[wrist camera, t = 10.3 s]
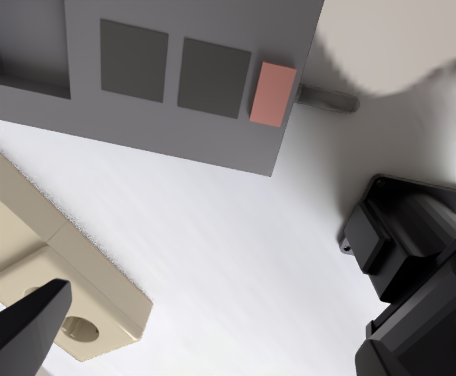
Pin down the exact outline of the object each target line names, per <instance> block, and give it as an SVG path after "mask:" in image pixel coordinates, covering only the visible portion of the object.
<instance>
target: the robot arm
mask: <svg viewBox="0 0 456 376" xmlns="http://www.w3.org/2000/svg"><path fill="white" fill-rule="evenodd" d="M380 180H383V181H382V183H380V184H377V182H378V181H380ZM345 246H348V247H347V248H344V247H345ZM339 248H340V250H341V252H342V253H344V254H349V255H354V256H355V258H356V260H357V262H358V265H359V267H360V269H361V271H362V272H363V274H367V275H369V278H370V280H371V282H372V284H373V286H374V288H375V290H376V292H377V295H378V297H379V299H380V301H382V302H386V303H391V304H390V305H389V306H388V307H387V308H386V309H385V310H384V311H383V312H382V313H381V314H380V315H379V316H378V317H377V318H376V319H375V320H372V321H371V322H370V323H369V324H368V325H367V326H366V340H365V341H364V342H363V344H362V345H361V347H360V348H359V350H358V351H357V353H356V355H355V366H356V373H357V376H456V190H455V189H450V188H446V187H441V186H436V185H431V184H427V183H422V182H417V181H413V180H408V179H403V178H399V177H394V176H389V175H385V174H377V175H375V176H373V177H372V179H371V180H370V182H369V184H368V187H367V189H366V191H365V193H364V195H363V197H362V199H361V201H359V202H358V203H357V204H356V206H355V208H354V210H353V212H352V214H351V216H350V218H349V220H348V222H347V224H346V226H345V229H344V235H343V237H342V239H341V241H340V243H339ZM71 304H72V289H71V282H70V281H69V280H66V279H61V278H55V279H52V280H51V281H49V282H47V283H46V284H44V285H43V286H41V287H39V288H38V289H36V290H35V291H33V292H31V293H30V294H28V295H27V296H25V297H23V298H22V299H20V300H18V301H17V302H15V303H14V304H12V305H10V306H9V307H7V308H6V309H4V310H2V311H1V312H0V376H35V375H36V373H37V371H38V369H39V368H40V366H41V365H42V363H43V361H44V360H45V358H46V356H47V354H48V352H49V350H50V348H51V346H52V344H53V342H54V339H55V337H56V335H57V333H58V331H59V329H60V327H61V325H62V323H63V321H64V319H65V317H66V315H67V313H68V311H69V309H70V306H71Z"/></svg>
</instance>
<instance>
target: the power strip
mask: <svg viewBox="0 0 456 376" xmlns="http://www.w3.org/2000/svg"><path fill="white" fill-rule="evenodd" d="M323 3H324V0H0V120H3V121H8V122H13V123H18V124H22V125H27V126H32V127H37V128H41V129H46V130H51V131H56V132H60V133H65V134H70V135H74V136H79V137H84V138H89V139H93V140H98V141H103V142H108V143H112V144H117V145H122V146H127V147H131V148H136V149H141V150H146V151H150V152H155V153H160V154H165V155H169V156H174V157H179V158H184V159H188V160H193V161H198V162H203V163H207V164H212V165H217V166H222V167H226V168H231V169H236V170H241V171H245V172H250V173H255V174H260V175H264V176H269V177H271V175H272V172H273V169H274V165H275V162H276V159H277V155H278V152H279V149H280V145H281V142H282V139H283V135H284V132H285V129H286V126H287V122H288V119H289V116H290V112H291V109H292V106H293V102H297V103H301V104H306V105H310V106H315V107H319V108H324V109H329V110H333V111H338V112H342V113H347V114H351V113H354V112H356V111H357V110H358V108H359V105H360V102H359V100H358V98H357V97H355V96H352V95H348V94H343V93H339V92H334V91H330V90H325V89H321V88H316V87H312V86H307V85H303V84H299V83H300V79H301V76H302V73H303V69H304V66H305V63H306V59H307V56H308V53H309V50H310V46H311V43H312V40H313V36H314V33H315V30H316V26H317V23H318V20H319V16H320V13H321V10H322V7H323Z"/></svg>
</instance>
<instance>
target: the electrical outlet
mask: <svg viewBox="0 0 456 376" xmlns="http://www.w3.org/2000/svg"><path fill="white" fill-rule="evenodd" d="M55 278H61V279H66V280H69V281H70V282H71V289H72V304H71V306H70V309H69V311H68V313H67V315H66V317H65V319H64V321H63V323H62V325H61V327H60V329H59V331H58V333H57V335H56V337H55V339H54V343H55V344H57V345H58V346H59V347H61V348H62V349H63V350H65V351H66V352H67V353H69V354H70V355H71V356H72V357H74V358H75V359H76V360H78V361H80V362H83V361H86V360H89V359H92V358H94V357H97V356H100V355H102V354H105V353H108V352H111V351H113V350H116V349H119V348H121V347H124V346H127V345H130V344H132V343H135V342H138V341H139V340H140V339H141V338H142V335H143V332H144V330H145V327H146V324H147V321H148V318H149V316H150V313H151V310H152V307H153V302H152V301H151V300H149V299H148V298H147V297H146V296H145V295H144V294H143V293H142V292H141V291H140V290H139V289H138V288H137V287H136V286H135V285H134V284H133V283H132V282H131V281H130V280H129V279H128V278H127V277H126V276H125V275H124V274H123V273H122V272H121V271H120V270H119V269H118V268H117V267H116V266H115V265H114V264H113V263H112V262H111V261H110V260H109V259H108V258H107V257H106V256H105V255H104V254H103V253H102V252H101V251H100V250H99V249H98V248H97V247H96V246H95V245H94V244H93V243H91V242H90V241H89V240H88V239H87V238H86V237H85V236H84V235H83V234H82V233H81V232H80V231H79V230H78V229H77V228H76V227H75V226H74V225H73V224H72V223H71V222H70V221H69V220H68V219H67V218H66V217H65V216H64V215H63V214H62V213H61V212H60V211H59V210H58V209H57V208H56V207H55V206H54V205H53V204H52V203H51V202H50V201H49V200H48V199H47V198H46V197H45V196H44V195H43V194H42V193H41V192H40V191H39V190H38V189H37V188H36V187H34V186H33V185H32V184H31V183H30V182H29V181H28V180H27V179H26V178H25V177H24V176H23V175H22V174H21V173H20V172H19V171H18V170H17V169H16V168H15V167H14V166H13V165H12V164H11V163H10V162H9V161H8V160H7V159H6V158H5V157H4V156H3V155H2V154H1V153H0V302H1V303H2V304H3V305H5V306H6V307H9V306H10V305H12V304H14V303H15V302H17V301H18V300H20V299H22V298H23V297H25V296H27V295H28V294H30V293H31V292H33V291H35V290H36V289H38V288H39V287H41V286H43V285H44V284H46V283H47V282H49V281H51V280H52V279H55Z"/></svg>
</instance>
